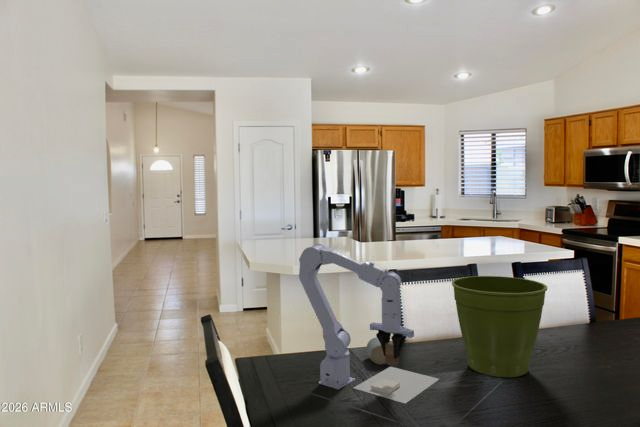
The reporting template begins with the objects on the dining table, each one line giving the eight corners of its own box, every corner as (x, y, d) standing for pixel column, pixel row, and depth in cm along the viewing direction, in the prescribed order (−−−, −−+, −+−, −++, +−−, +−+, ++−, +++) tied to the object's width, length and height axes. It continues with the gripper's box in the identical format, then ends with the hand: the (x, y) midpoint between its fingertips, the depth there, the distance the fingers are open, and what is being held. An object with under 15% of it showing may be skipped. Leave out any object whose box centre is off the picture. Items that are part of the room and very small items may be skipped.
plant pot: (551, 391, 148) (552, 295, 146) (448, 379, 157) (448, 290, 156) (541, 357, 176) (542, 277, 174) (454, 349, 185) (454, 273, 184)
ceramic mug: (370, 366, 170) (370, 344, 169) (366, 358, 178) (366, 337, 177) (401, 365, 171) (401, 343, 170) (395, 357, 179) (395, 336, 178)
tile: (400, 386, 152) (388, 394, 146) (383, 382, 155) (370, 389, 150) (400, 382, 152) (388, 390, 146) (383, 378, 155) (370, 385, 150)
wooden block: (394, 366, 151) (393, 345, 150) (385, 364, 153) (385, 343, 152) (399, 363, 153) (398, 342, 153) (390, 361, 155) (390, 340, 154)
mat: (405, 404, 140) (405, 403, 140) (352, 389, 151) (352, 387, 151) (439, 380, 157) (439, 378, 157) (390, 367, 168) (390, 366, 168)
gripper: (418, 313, 150) (419, 357, 151) (378, 306, 159) (378, 348, 160) (407, 318, 145) (407, 364, 145) (365, 311, 154) (366, 354, 155)
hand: (391, 356), depth 152 cm, fingers closed on wooden block, 3 cm apart
